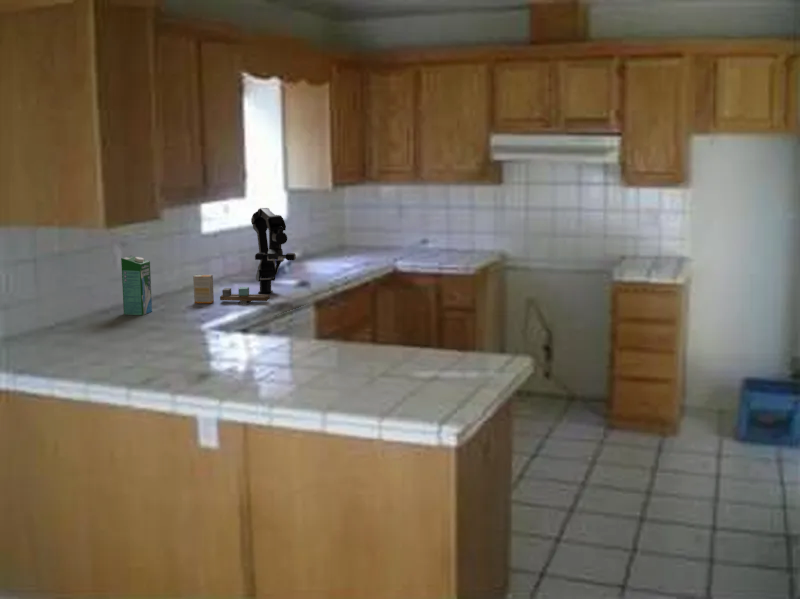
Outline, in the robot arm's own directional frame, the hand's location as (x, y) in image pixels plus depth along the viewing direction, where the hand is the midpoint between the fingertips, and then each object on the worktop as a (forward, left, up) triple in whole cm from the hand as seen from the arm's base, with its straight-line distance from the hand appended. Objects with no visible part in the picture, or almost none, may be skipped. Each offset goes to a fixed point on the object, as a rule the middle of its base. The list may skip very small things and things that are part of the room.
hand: (275, 274), depth 440 cm
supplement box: (+12, -32, -12) cm, 36 cm away
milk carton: (+38, -55, -12) cm, 68 cm away
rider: (+10, -13, -10) cm, 20 cm away
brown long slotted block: (+10, -13, -12) cm, 20 cm away
